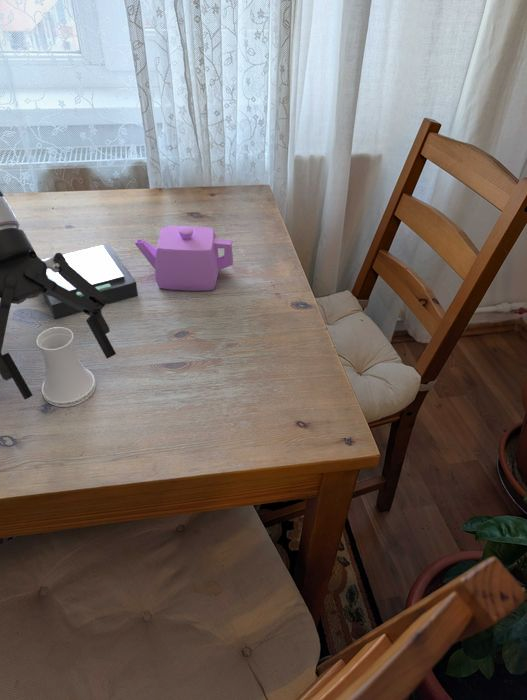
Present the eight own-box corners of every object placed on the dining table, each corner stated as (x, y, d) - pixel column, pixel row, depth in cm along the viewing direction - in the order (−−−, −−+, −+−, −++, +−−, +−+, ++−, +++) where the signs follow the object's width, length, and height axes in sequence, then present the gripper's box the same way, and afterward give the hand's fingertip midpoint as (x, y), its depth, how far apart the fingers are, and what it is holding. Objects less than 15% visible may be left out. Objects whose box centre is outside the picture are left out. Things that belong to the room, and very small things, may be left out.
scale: (55, 319, 90) (50, 302, 88) (34, 275, 100) (29, 259, 97) (138, 295, 96) (135, 279, 94) (110, 256, 106) (108, 240, 103)
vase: (42, 376, 80) (25, 325, 73) (93, 367, 82) (81, 317, 75) (43, 411, 75) (25, 361, 68) (97, 401, 77) (85, 351, 70)
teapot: (135, 290, 97) (128, 242, 90) (144, 260, 105) (138, 213, 98) (231, 294, 98) (232, 246, 91) (233, 263, 106) (234, 217, 99)
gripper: (70, 221, 81) (136, 344, 84) (-100, 277, 68) (-17, 420, 71) (81, 202, 75) (152, 335, 77) (-105, 259, 62) (-13, 417, 64)
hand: (72, 376), depth 74 cm, fingers open, 12 cm apart
